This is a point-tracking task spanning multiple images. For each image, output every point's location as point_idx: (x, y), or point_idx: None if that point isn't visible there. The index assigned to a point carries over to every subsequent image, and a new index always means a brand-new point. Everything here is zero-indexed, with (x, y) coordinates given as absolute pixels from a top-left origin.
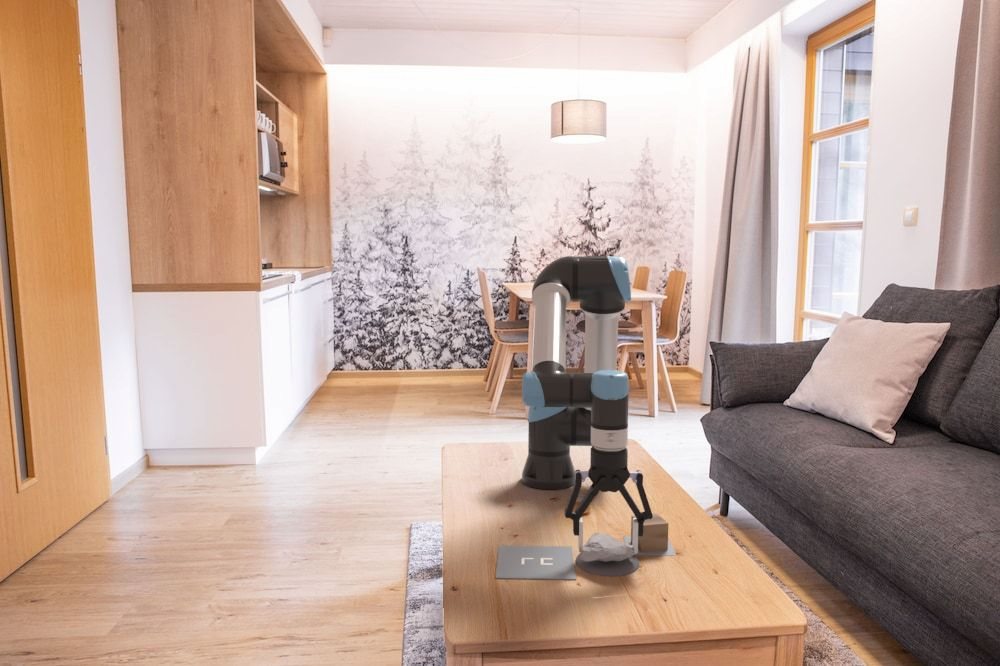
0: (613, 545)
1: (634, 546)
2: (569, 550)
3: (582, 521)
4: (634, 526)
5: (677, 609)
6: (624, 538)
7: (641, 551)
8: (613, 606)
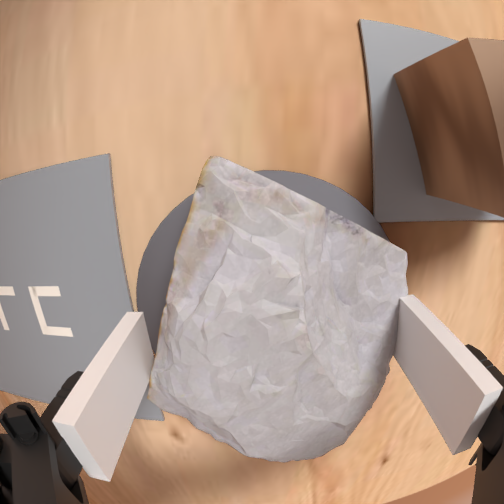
0: (299, 429)
1: (402, 367)
2: (101, 202)
3: (103, 475)
4: (444, 438)
5: (391, 477)
6: (365, 38)
7: (426, 189)
8: (266, 493)
